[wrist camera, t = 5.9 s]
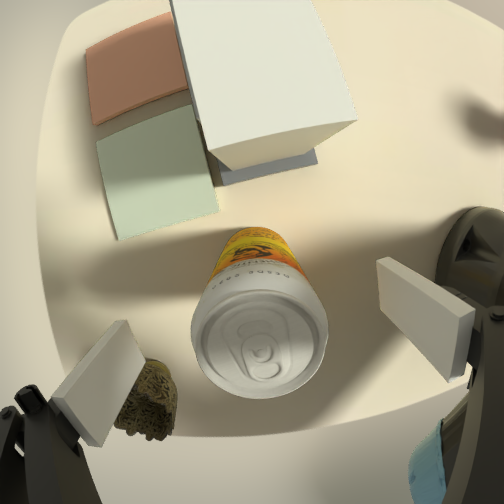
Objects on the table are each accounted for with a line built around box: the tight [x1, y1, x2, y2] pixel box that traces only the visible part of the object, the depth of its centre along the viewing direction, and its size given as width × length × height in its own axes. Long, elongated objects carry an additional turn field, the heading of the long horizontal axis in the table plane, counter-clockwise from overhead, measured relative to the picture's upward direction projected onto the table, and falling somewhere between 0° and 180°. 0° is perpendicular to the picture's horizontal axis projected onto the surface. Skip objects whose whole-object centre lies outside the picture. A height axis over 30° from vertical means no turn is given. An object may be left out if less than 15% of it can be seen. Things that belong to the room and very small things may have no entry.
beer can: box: [191, 227, 329, 399], centre depth 18 cm, size 6×6×15 cm
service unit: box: [169, 0, 358, 186], centre depth 15 cm, size 18×8×14 cm, turn 14°
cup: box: [113, 361, 177, 441], centre depth 24 cm, size 8×7×8 cm
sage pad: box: [96, 104, 220, 241], centre depth 23 cm, size 10×10×1 cm
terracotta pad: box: [86, 12, 189, 126], centre depth 20 cm, size 10×10×1 cm
